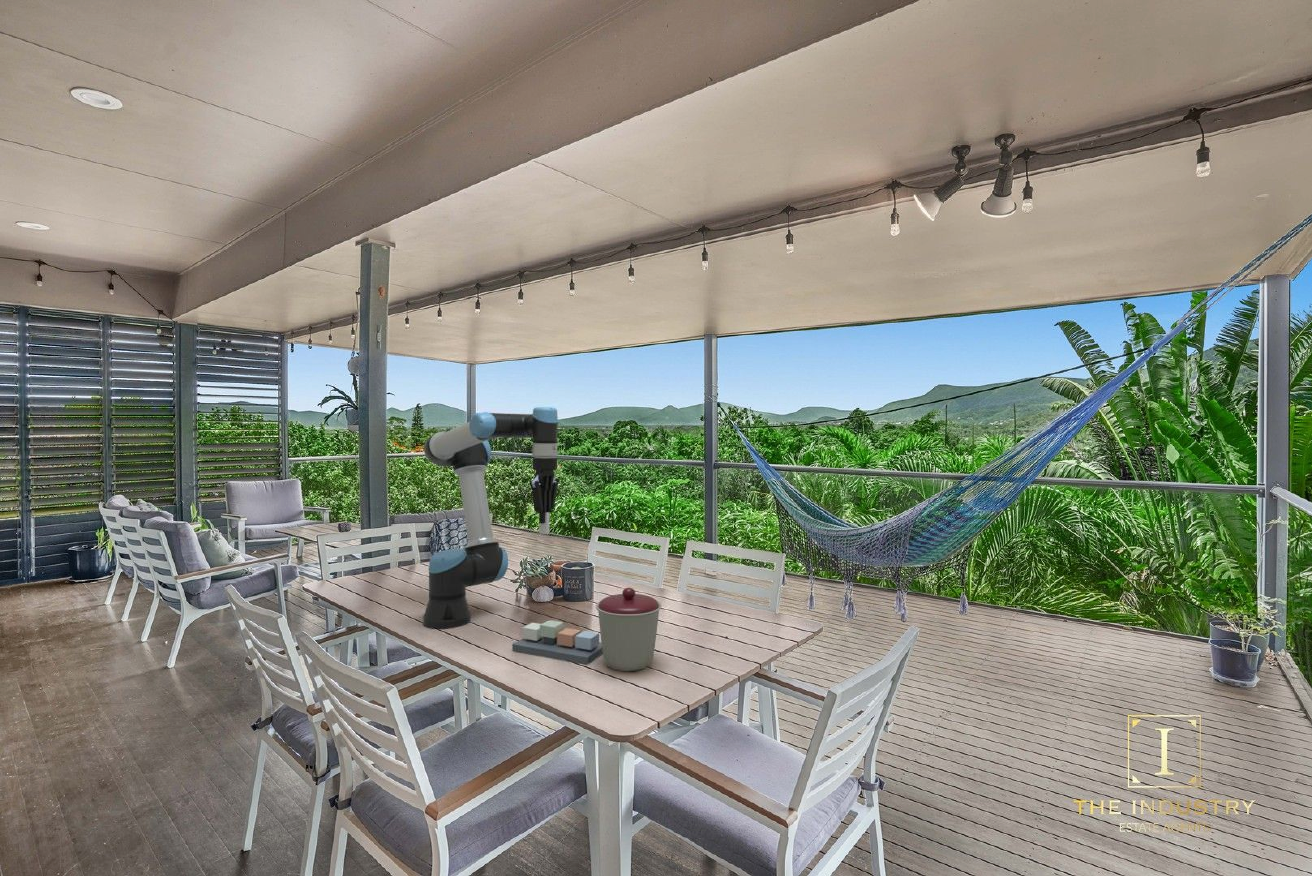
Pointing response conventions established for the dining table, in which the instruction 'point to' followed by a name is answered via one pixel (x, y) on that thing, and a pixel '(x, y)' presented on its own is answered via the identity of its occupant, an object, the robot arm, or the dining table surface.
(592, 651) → the keypad board
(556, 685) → the dining table surface
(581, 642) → the key blue
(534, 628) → the key ivory
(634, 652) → the canister
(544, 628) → the key sage
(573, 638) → the key terracotta
